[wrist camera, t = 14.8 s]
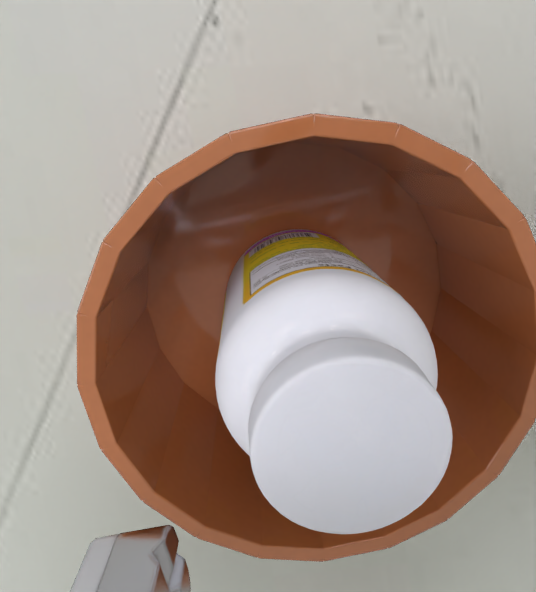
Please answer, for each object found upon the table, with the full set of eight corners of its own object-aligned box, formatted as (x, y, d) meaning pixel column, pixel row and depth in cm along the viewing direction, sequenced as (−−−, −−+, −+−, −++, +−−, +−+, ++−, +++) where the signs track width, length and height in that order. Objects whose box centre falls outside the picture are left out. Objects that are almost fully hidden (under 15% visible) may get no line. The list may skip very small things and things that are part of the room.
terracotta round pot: (426, 97, 22) (545, 61, 13) (458, 394, 26) (562, 514, 17) (98, 170, 22) (2, 181, 13) (183, 451, 26) (153, 596, 18)
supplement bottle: (314, 380, 25) (381, 610, 12) (201, 317, 23) (149, 500, 11) (391, 272, 23) (556, 408, 11) (274, 197, 22) (310, 255, 10)
